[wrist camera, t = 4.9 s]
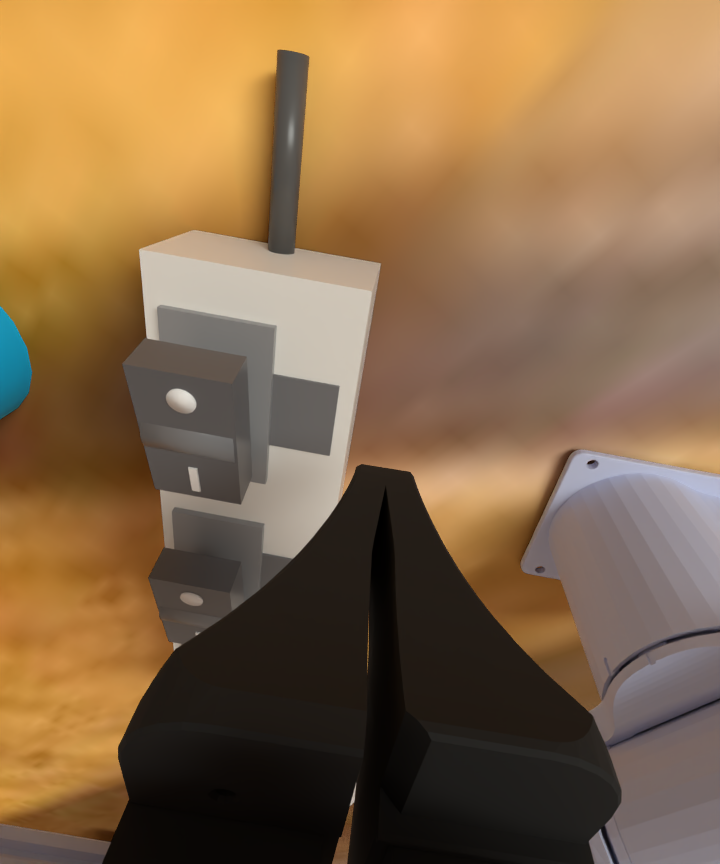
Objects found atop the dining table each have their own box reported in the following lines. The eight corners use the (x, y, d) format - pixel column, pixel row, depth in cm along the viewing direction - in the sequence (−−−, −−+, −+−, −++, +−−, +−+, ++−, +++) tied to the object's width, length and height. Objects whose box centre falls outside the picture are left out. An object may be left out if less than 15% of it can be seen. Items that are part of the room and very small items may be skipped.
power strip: (412, 78, 16) (410, 53, 12) (312, 672, 33) (298, 744, 29) (184, 38, 16) (105, 0, 12) (203, 652, 33) (175, 720, 29)
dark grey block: (249, 353, 15) (229, 388, 13) (253, 472, 19) (239, 508, 17) (147, 334, 15) (118, 367, 13) (173, 457, 19) (153, 493, 17)
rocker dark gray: (242, 557, 19) (228, 597, 18) (247, 621, 23) (235, 658, 22) (166, 543, 19) (145, 582, 18) (182, 609, 23) (166, 645, 22)
